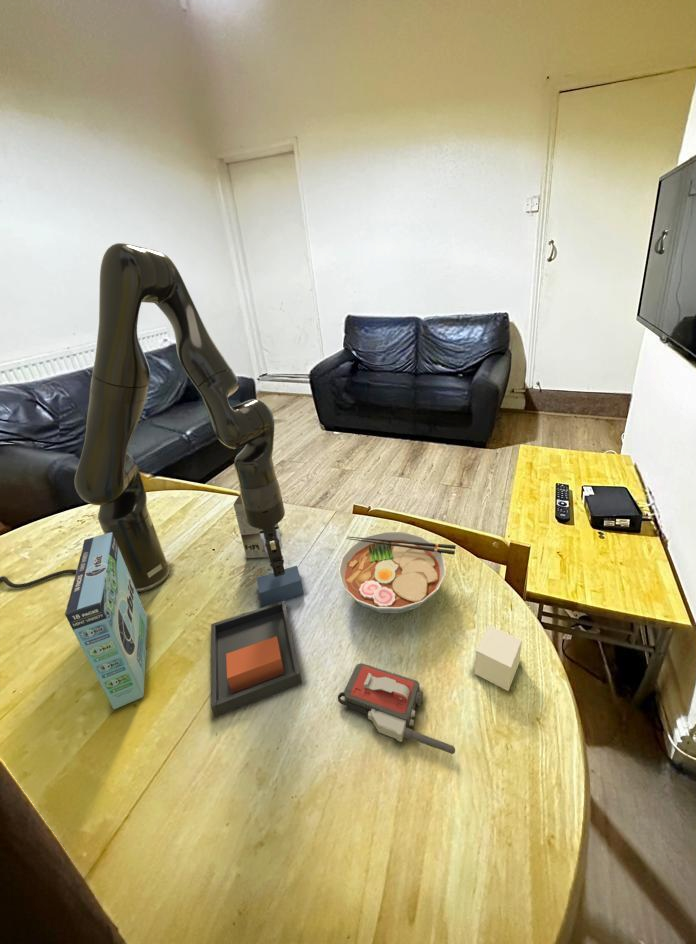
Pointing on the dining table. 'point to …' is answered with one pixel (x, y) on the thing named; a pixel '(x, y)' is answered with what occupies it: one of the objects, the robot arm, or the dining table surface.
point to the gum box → (109, 620)
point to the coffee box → (249, 533)
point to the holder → (244, 634)
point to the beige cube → (498, 657)
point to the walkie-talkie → (388, 703)
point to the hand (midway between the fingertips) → (276, 561)
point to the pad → (254, 664)
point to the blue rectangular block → (279, 586)
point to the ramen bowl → (393, 571)
